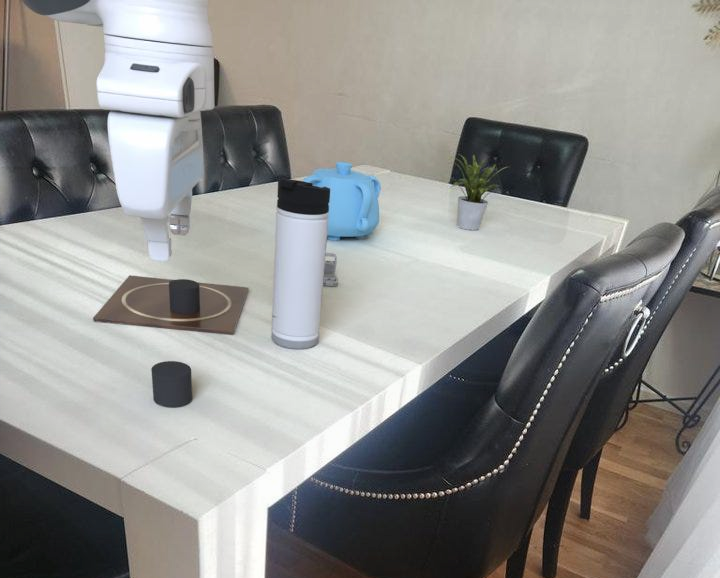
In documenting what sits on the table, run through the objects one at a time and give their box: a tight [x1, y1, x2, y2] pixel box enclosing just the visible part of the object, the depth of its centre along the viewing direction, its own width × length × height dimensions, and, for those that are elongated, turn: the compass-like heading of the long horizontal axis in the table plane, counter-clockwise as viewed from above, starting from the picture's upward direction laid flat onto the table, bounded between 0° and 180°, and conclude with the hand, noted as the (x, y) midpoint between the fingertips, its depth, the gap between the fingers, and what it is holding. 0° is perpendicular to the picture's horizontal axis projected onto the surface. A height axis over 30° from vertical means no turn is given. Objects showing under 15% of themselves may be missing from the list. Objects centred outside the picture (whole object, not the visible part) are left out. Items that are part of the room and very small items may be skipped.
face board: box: [92, 274, 250, 336], centre depth 92 cm, size 18×18×1 cm
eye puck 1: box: [169, 278, 200, 314], centre depth 88 cm, size 4×4×4 cm
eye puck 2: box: [150, 360, 193, 408], centre depth 68 cm, size 4×4×4 cm
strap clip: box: [323, 252, 339, 287], centre depth 108 cm, size 8×3×4 cm, turn 9°
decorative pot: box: [302, 161, 382, 241], centre depth 131 cm, size 16×16×14 cm
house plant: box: [450, 153, 511, 231], centre depth 150 cm, size 14×14×16 cm
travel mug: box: [271, 178, 330, 350], centre depth 81 cm, size 6×7×20 cm
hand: (171, 245), depth 63 cm, fingers open, 8 cm apart
